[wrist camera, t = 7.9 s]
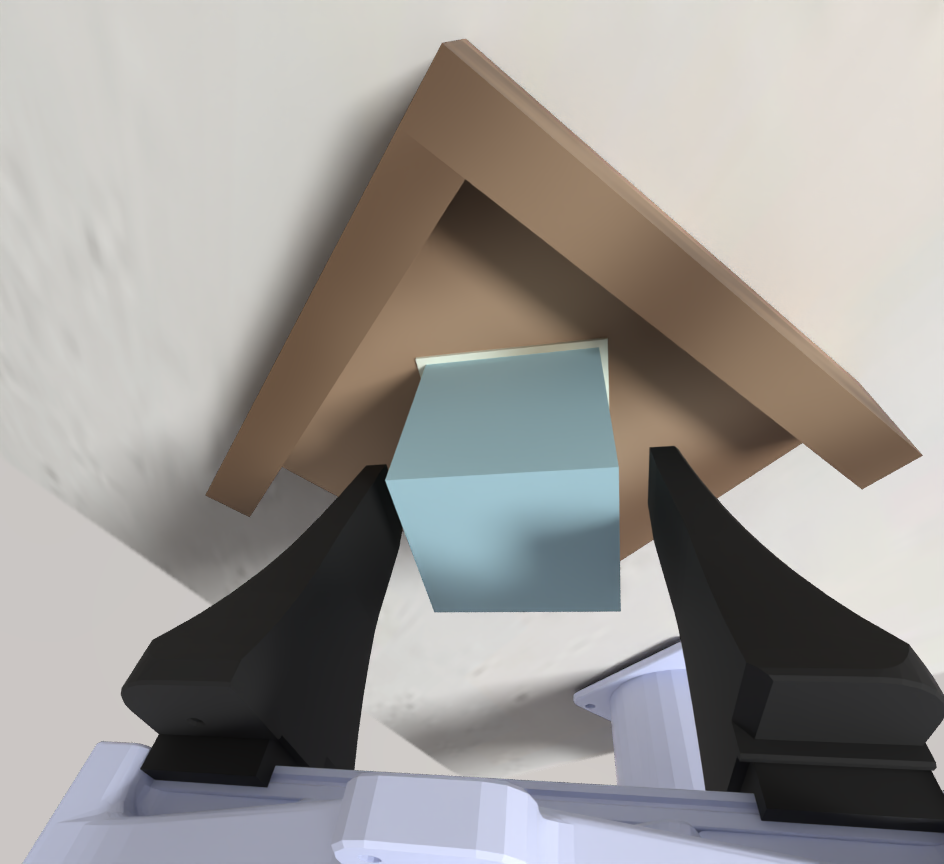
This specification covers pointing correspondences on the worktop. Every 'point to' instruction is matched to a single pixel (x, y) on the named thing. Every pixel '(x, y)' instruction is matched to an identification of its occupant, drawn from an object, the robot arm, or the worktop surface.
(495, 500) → the cube
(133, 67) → the worktop surface
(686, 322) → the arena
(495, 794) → the robot arm
